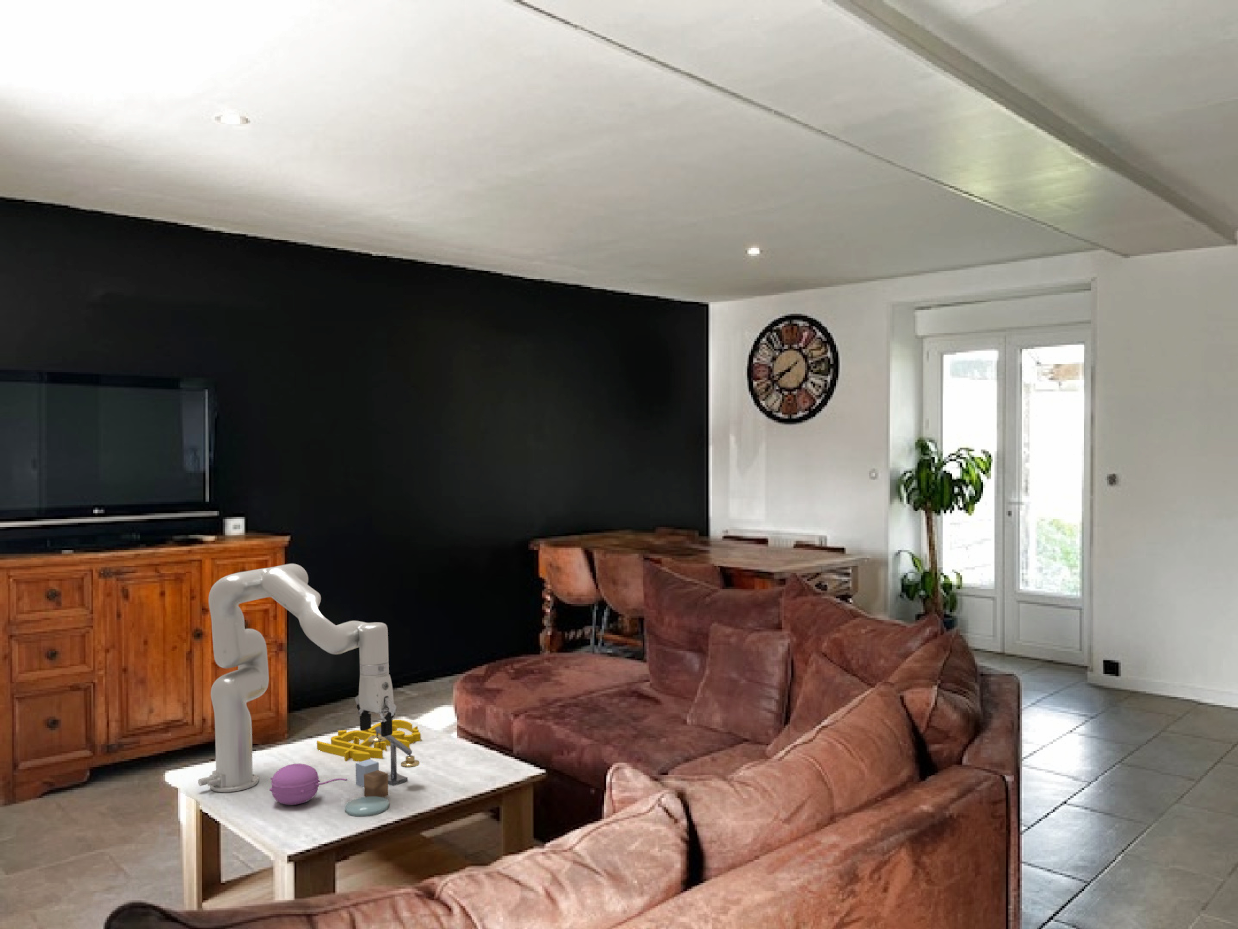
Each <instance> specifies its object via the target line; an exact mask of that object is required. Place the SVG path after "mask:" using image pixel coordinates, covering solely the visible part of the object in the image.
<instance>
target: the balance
mask: <svg viewBox="0 0 1238 929" xmlns="http://www.w3.org/2000/svg"><path fill="white" fill-rule="evenodd" d="M375 731H376V735H375V736H371V737H369V738H368V741H369V742H372V743H373V742H382V741H385V740H386V739H387V740H388V741H390V746H389V747H390V774H388V786H389V785H390V786H392V787H393V786H396V785H400V784H402V783H406V782H408V781H409V780H408V777H407V776H404V775H402V774H399V773H398V767H397V762H398V761H397V748H396V747H398V749H399V750H400V751H401V752H402V753H404V754H405V755H407V756H405V760H403V761H401V762H400V767H402V768H415V767H418V766H419V765H420V760H418V759H415V755H412V754H413V750H411V749H409V748H408V747H406V746H405V745H404V744H402V743H401V742H400V741H398V740H397V739H395V738H394V737H393V736H391V735H388V736H385V737H382V736H381V727H379V726H378V727H376V728H375ZM378 733H379V734H380V735H378Z"/></svg>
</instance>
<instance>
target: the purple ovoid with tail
mask: <svg viewBox="0 0 1238 929" xmlns="http://www.w3.org/2000/svg"><path fill="white" fill-rule="evenodd" d="M319 778H320V777H319V774H318V772H317V770H316V769H315V768H314V767H313V766H312V765H309V764H307V763H306V764H305V763H291V764H287V765H285V766H282V767H281V768H279V769H278V770H276V772H275V773H274V774H273V776H272V777H270V780H271V782H270V784H271V787H270V788H269V791H271V794H272V797H273V799H274V800H275V801H277V802H278V803H280V804H282V805H287V806H289V805H290V806H295V805H300V804H303V803H306V802H308V801H310V800H312V799H313V798H314V796H315V795H316V794H317V792H318V790H319V787H320V786H324V785H325V784H326V785H327V784H328V783H331V782H336V781H346V782H347V781H348V779H347V778H343V777H342V778H341V777H340V778H333V779H330V780H327V781H324V782H321V780H320V779H319Z"/></svg>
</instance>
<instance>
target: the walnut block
mask: <svg viewBox="0 0 1238 929" xmlns="http://www.w3.org/2000/svg"><path fill="white" fill-rule="evenodd" d="M388 775H389V773H388V772H385V771H383V770H382V771H381V770H380V769H379V770H377V771H373V772H370V773H367V774H364V787H363V789H364V790H363V793H364V796H363V797H369V796H378V797H383V798H385V797H387V796H389V784H388Z"/></svg>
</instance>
